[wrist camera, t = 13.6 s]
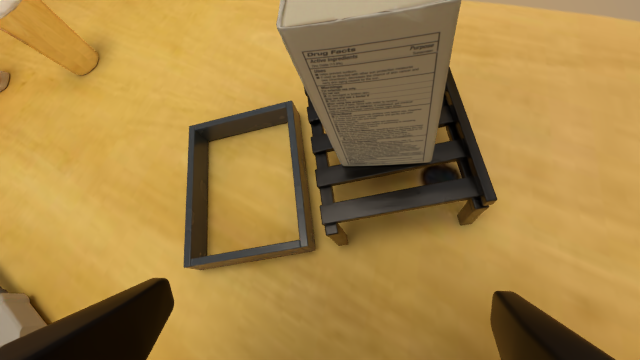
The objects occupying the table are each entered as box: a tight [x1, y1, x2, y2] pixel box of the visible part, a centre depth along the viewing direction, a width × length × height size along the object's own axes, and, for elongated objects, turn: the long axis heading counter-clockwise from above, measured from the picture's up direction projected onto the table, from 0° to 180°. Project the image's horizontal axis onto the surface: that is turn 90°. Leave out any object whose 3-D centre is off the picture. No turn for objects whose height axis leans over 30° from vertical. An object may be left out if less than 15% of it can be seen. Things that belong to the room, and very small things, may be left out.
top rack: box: [304, 67, 497, 246], centre depth 20 cm, size 9×11×5 cm
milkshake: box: [0, 0, 99, 75], centre depth 29 cm, size 5×5×10 cm
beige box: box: [276, 0, 461, 166], centre depth 13 cm, size 5×4×10 cm
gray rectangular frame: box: [184, 101, 315, 270], centre depth 23 cm, size 9×11×2 cm
